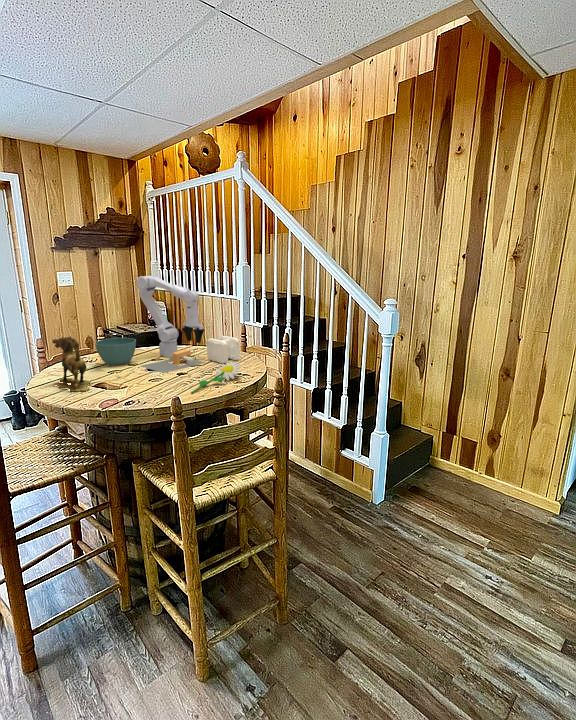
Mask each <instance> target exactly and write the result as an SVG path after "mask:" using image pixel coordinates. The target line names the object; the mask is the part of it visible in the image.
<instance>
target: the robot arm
mask: <svg viewBox="0 0 576 720" xmlns="http://www.w3.org/2000/svg"><path fill="white" fill-rule="evenodd" d="M135 285H136V287H137V289H138V294H139V297H140V299H141V301H142V303H143V305H144V307H145V308H146V310H147V311H148V313H149V315H150V316H151V317H152V319H153V321H154V322H155V324H156V326H157V329H156V332H157V334H158V338H159V340H160V341H161V342H159V344H158V345H159V346H158V348H159V349H158V351H159V356H160V357H164V358H170V355H171V354H172V353H174V352H178V342H177V340H178V338H179V333H180V332H179V330H178V329H177V328H176V327H174V324H172V323H171V322H169V321H168V319H166V317H165V314H164V313H163V312H162V310H161V308H160V307H159V305H158V304H157V302H156V300H155V298H154V297H153V294H154V291H155V289H156V288H158V287H159V288H160V289H163V290H166V291H169V292H170V293H171V295H172V296H174V297H175V298H179V299H180V300H183V302H184V304H185V315H186V322H182V328H181V329H182V331H183V332H184V335H185V337H186V340H187V342H192V340H193V333H194V336H195V342H196V344H200V343H201V342H202V338H203V334H204V332H205V328H204V325H203V324H201V323H199V322H200V321H199V311H198V310H199V309H198V301H199V300H200V296H199V293H198V292H197V291H196V290H190V288H186V287H184V286H182V284H180V283H179V284H175V285H173V284H171V283H170V282H167V281H165V280H164V279H162V278H160V277H158V276H155V275H144V276H143V275H140V276H139V277H137V279H136V284H135Z"/></svg>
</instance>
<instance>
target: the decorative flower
mask: <svg viewBox="0 0 576 720" xmlns="http://www.w3.org/2000/svg"><path fill="white" fill-rule="evenodd" d="M241 368H242V367H241V363H240V362H238V361H236V362H234V363H233V360H232V361H228V362H227V363H224V364H222V363H221V366H219V367H218V370H217V371H215V373H216V374H215V375H214V377H213V378H211V379H210V380H200V381H199V382H198V384H199V385H200V386H199V387H197V388H196V389H194V390H192V391H191V392H190V393H193V394H195V393H196V392H198V391H199V390H200V389H201V390H202V388H204V387H206V386H207V385H208V384H210V383H211V382H221V381H222V383H225V381H227V382H229V380H230V379H232V380H234V379H235V376H237V375H238V373H240V372H241V370H240V369H241ZM234 375H235V376H234Z"/></svg>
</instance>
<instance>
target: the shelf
mask: <svg viewBox="0 0 576 720" xmlns="http://www.w3.org/2000/svg"><path fill="white" fill-rule="evenodd" d="M182 360H184V361H185V360H187V361H186V364H183V365H179V364H174V363H173V358H172V354H171V355H170V357H169V359H165V360H161V361H155V362H152V363H151V362H150V363H147V364H142V365H140V367H142V368H146V369H149V370H151V371H155V372H158V373H162V374H166V373H171V372H175V371H178V370H182V369H183V370H184V369H187V368H190V367H194V366H198V365H202V364H207V362H205V361H202V360H199V359H195V358H193V357H191V358H190V357H186V356H183V357H182V359H180V361H182Z"/></svg>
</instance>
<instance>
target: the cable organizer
mask: <svg viewBox="0 0 576 720" xmlns="http://www.w3.org/2000/svg"><path fill="white" fill-rule="evenodd" d="M206 355H207V356H206V357H207V358H208V360H210V361H211V360H212V362H214V361H215V362H217V363H219V364H221V365H222V364H224V365H225V364H226V363H227V362H228V363H229V359H230V360H232V361H237V360H239V359H240V341H239V339H238V338H237V337H234V336H233V337H232V336H227V335H220V336H219V339H216V338H212V337H211V338H208V339H206Z"/></svg>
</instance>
